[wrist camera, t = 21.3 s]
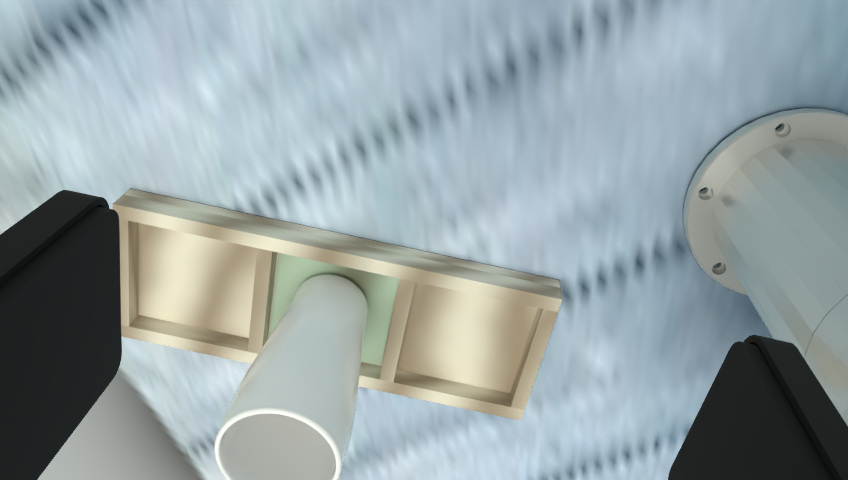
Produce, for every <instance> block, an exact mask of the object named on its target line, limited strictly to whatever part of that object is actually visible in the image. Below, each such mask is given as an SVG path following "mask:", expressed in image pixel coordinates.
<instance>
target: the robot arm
mask: <svg viewBox="0 0 848 480" xmlns="http://www.w3.org/2000/svg"><path fill="white" fill-rule="evenodd" d="M781 123H782V124H781ZM779 124H781V127H780V128H778V129H775V128H776V127H777V126H778V125H779ZM704 187H706V189H705V190H703V191H700V190H701V189H702V188H704ZM683 226H684V231H685V236H686V240H687V242H688V245H689V247H690V249H691V251H692V253H693V255H694V257H695V258H696V260H697V262H698V263H699V265H700V267H701V268H702V269H703V270H704V271H705V272H706V273H707V274H708V275H709V276H710V277H711V278H712V279H714V280H715V281H717V282H718V283H720V284H721V285H723V286H724V287H726V288H728V289H730V290H733V291H735V292H738V293H740V294H743V295H748V297H749V299H750V300H751V302H752V304H753V305H754V307H755V309H756V310H757V312H758V314H759V315H760V317H761V319H762V320H763V322H764V323H765V325H766V327H767V328H768V330H769V332H770V333H771V335H772V337H773V338H774V339H771V338H766V337H762V336H757V335H752V336H749V337H748V338H747V339H746V340H745V341H744V342H735V343H734V344H733V345H732V347H731V348H730V350H729V352H728V354H727V356H726V358H725V360H724V362H723V364H722V366H721V368H720V370H719V372H718V374H717V376H716V378H715V380H714V382H713V384H712V386H711V388H710V390H709V392H708V394H707V396H706V398H705V400H704V402H703V404H702V406H701V408H700V410H699V412H698V414H697V416H696V418H695V420H694V422H693V424H692V426H691V428H690V430H689V433H688V435H687V437H686V439H685V441H684V443H683V445H682V447H681V449H680V451H679V453H678V455H677V457H676V459H675V461H674V463H673V465H672V467H671V470H670V473H669V477H668V480H848V115H847V114H845V113H841V112H837V111H832V110H827V109H812V108H801V109H794V110H788V111H781V112H778V113H775V114H772V115H769V116H765V117H762V118H759V119H757V120H755V121H753V122H751V123H749V124H747V125H746V126H744V127H742V128H740V129H738V130H737V131H736V132H734V133H733V134H731V135H730V136H729V137H727V138H726V139H724V140H723V141H722V142H721V143H720V144H719V145H718V146H717V147H716V148H715V149H714V150H713V151H712V152H711V153H710V154H709V155H708V156H707V157H706V159H705V160H704V161H703V163H702V164H701V166H700V167H699V168H698V170H697V171H696V173H695V175H694V177H693V179H692V181H691V184H690V186H689V188H688V191H687V195H686V199H685V203H684V208H683ZM717 263H718V264H717ZM715 264H716V265H715ZM121 354H122V344H121V286H120V228H119V216H118V213H117V212H116V211H115V210H112V209H109V205H108V203H107V201H106V200H105V199H104V198H102V197H97V196H92V195H87V194H83V193H78V192H73V191H68V190H62V191H60V192H58V193H57V194H56V195H54V196H53V197H51V198H50V199H49V200H47V201H46V202H45V203H43V204H42V205H40V206H39V207H38V208H36V209H35V210H34V211H32V212H31V213H30V214H28V215H27V216H25V217H24V218H23V219H21V220H20V221H19V222H17V223H16V224H14V225H13V226H12V227H10V228H9V229H8V230H6V231H5V232H4V233H2V234H1V235H0V480H37V479H38V478H39V476H40V475H41V474H42V472H43V471H44V470H45V469H46V467H47V466H48V465H49V463H50V462H51V460H52V459H53V458H54V457H55V455H56V454H57V453H58V451H59V450H60V449H61V447H62V446H63V445H64V443H65V442H66V441H67V439H68V438H69V437H70V435H71V434H72V433H73V431H74V430H75V429H76V427H77V426H78V424H79V423H80V422H81V421H82V419H83V418H84V417H85V415H86V414H87V413H88V411H89V410H90V409H91V407H92V406H93V405H94V403H95V402H96V401H97V399H98V398H99V397H100V395H101V394H102V393H103V392H104V390H105V389H106V387H107V386H108V385H109V383H110V382H111V381H112V380H113V378H114V376H115V375H116V373H117V371H118V368H119V365H120V361H121Z"/></svg>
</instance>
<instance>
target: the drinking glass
mask: <svg viewBox="0 0 848 480" xmlns="http://www.w3.org/2000/svg"><path fill="white" fill-rule="evenodd" d="M367 319H368V304H367V300H366V298H365V296H364V294H363V292H362V291H361V290H360V289H359V287H358V286H356V285H355V284H354V283H353V282H351V281H350V280H348V279H346V278H344V277H341V276H337V275H330V274H324V275H318V276H314V277H312V278H310V279H308V280H306V281H305V282H303V283H302V284H301V285H300V286H299V287H298V289H297V290H296V292H295V294H294V296H293V298H292V300H291V302H290V304H289V306H288V308H287V309H286V311H285V313H284V314H283V316H282V317H281V319H280V321H279V322H278V324H277V325H276V327H275V329H274V330H273V332H272V333H271V335H270V337H269V338H268V340H267V341H266V343H265V344H264V346H263V347H262V349H261V351H260V352H259V354H258V355H257V357H256V358H255V360H254V361H253V363H252V365H251V366H250V368H249V369H248V371H247V373H246V374H245V376H244V378H243V379H242V381H241V383H240V385H239V386H238V388H237V390H236V392H235V394H234V396H233V398H232V401H231V403H230V405H229V407H228V409H227V412H226V414H225V416H224V419H223V421H222V424H221V426H220V429H219V432H218V434H217V436H216V439H215V445H214V452H215V458H216V462H217V464H218V467H219V469H220V470H221V472H222V474H223V475H224V476H225V478H226V479H227V480H338V478H339V476H340V473H341V469H342V466H343V463H344V460H345V456H346V453H347V449H348V445H349V442H350V438H351V433H352V429H353V424H354V418H355V411H356V403H357V395H358V385H359V376H360V367H361V357H362V349H363V340H364V332H365V327H366V323H367Z"/></svg>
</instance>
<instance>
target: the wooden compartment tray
mask: <svg viewBox="0 0 848 480" xmlns="http://www.w3.org/2000/svg"><path fill="white" fill-rule="evenodd" d="M113 210H115V211H116V212H117V213H118V216H119V228H120V286H121V336H123V337H127V338H132V339H137V340H142V341H146V342H151V343H156V344H161V345H165V346H170V347H175V348H180V349H184V350H189V351H194V352H199V353H203V354H208V355H213V356H218V357H222V358H227V359H232V360H236V361H241V362H246V363H251V364H252V363H253V361H254V360H255V358H256V357H257V355H258V354H259V352H260V351H261V349H262V347H263V346H264V344H265V343H266V341H267V340H268V338H269V337H270V335H271V333H272V332H273V330H274V329H275V327H276V325H277V324H278V322H279V321H280V319H281V317H282V316H283V314H284V313H285V311H286V309H287V308H288V306H289V304H290V302H291V300H292V298H293V296H294V294H295V292H296V290H297V289H298V287H299V286H300V285H301V284H302V283H303V282H305V281H306V280H308V279H310V278H312V277H314V276H318V275H324V274H330V275H337V276H341V277H344V278H346V279H348V280H350V281H351V282H353V283H354V284H355V285H356V286H358V287H359V289H360V290H361V291H362V292H363V294H364V296H365V298H366V300H367V304H368V319H367V323H366V327H365V332H364V340H363V349H362V357H361V367H360V376H359V385H358V386H360V387H365V388H369V389H374V390H379V391H384V392H388V393H393V394H398V395H403V396H407V397H412V398H417V399H422V400H426V401H431V402H436V403H441V404H445V405H450V406H455V407H460V408H464V409H469V410H474V411H479V412H483V413H488V414H493V415H497V416H502V417H507V418H512V419H516V420H521V418H522V415H523V413H524V410H525V407H526V404H527V401H528V398H529V395H530V392H531V389H532V386H533V383H534V381H535V378H536V375H537V372H538V369H539V366H540V363H541V360H542V357H543V354H544V351H545V348H546V346H547V343H548V340H549V337H550V334H551V331H552V328H553V325H554V322H555V319H556V316H557V314H558V311H559V308H560V305H561V302H562V295H561V289H560V283H559V280H556V279H552V278H547V277H542V276H537V275H533V274H528V273H523V272H519V271H514V270H509V269H505V268H500V267H495V266H491V265H486V264H481V263H477V262H472V261H467V260H463V259H458V258H453V257H448V256H444V255H439V254H434V253H430V252H425V251H420V250H416V249H411V248H406V247H402V246H397V245H392V244H388V243H383V242H378V241H374V240H369V239H364V238H359V237H355V236H350V235H345V234H341V233H336V232H331V231H327V230H322V229H317V228H313V227H308V226H303V225H299V224H294V223H289V222H285V221H280V220H275V219H270V218H266V217H261V216H256V215H252V214H247V213H242V212H238V211H233V210H228V209H224V208H219V207H214V206H210V205H205V204H200V203H196V202H191V201H186V200H181V199H177V198H172V197H167V196H163V195H158V194H153V193H149V192H144V191H139V190H135V189H130V190H128V191H127V192H126V193H125V194H124V195H123V196H121V197H120V198H119V199H118V200H117V201H116V202H115V203H113Z"/></svg>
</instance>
